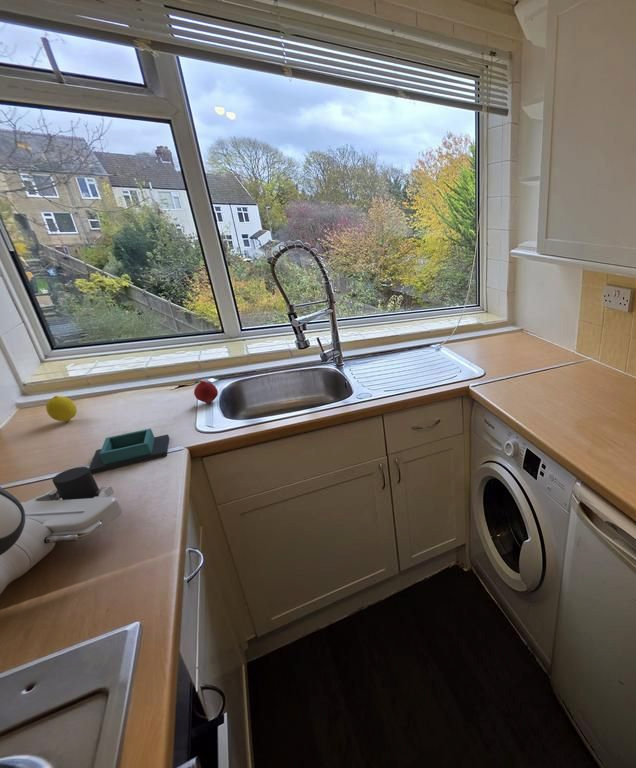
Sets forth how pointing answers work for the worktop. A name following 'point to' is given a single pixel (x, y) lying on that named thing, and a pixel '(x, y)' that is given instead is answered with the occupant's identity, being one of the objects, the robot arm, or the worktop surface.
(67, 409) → the lemon
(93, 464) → the base pad
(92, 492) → the pad post
